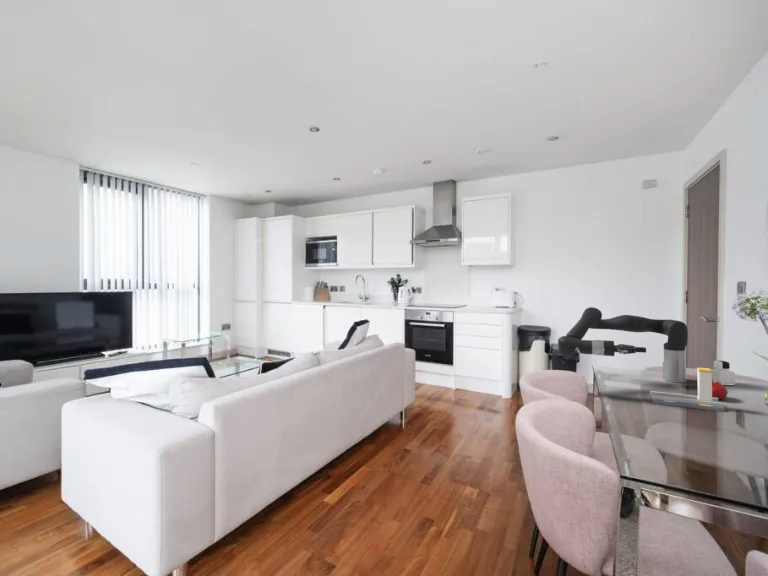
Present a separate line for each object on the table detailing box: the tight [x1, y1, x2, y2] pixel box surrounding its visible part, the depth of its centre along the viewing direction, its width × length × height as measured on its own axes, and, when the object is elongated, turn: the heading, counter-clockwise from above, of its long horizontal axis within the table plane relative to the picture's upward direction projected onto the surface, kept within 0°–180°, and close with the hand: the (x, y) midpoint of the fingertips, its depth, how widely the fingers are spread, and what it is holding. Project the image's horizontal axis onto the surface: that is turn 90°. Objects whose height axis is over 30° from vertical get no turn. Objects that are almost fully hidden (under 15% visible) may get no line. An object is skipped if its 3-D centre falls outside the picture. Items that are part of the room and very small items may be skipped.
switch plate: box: [649, 390, 725, 413], centre depth 159 cm, size 24×11×3 cm, turn 59°
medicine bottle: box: [710, 360, 736, 385], centre depth 185 cm, size 7×7×12 cm
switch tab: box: [696, 367, 713, 402], centre depth 156 cm, size 4×5×15 cm
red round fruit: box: [712, 379, 728, 401], centre depth 165 cm, size 10×10×9 cm
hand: (645, 350), depth 166 cm, fingers closed
